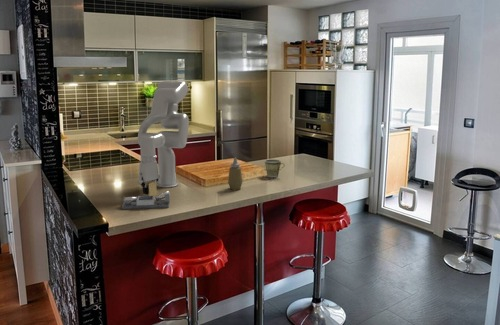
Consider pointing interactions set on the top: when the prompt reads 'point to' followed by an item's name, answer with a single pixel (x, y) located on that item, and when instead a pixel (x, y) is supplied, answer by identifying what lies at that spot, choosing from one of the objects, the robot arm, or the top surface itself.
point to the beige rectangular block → (151, 188)
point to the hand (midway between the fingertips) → (149, 192)
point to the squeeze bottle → (235, 176)
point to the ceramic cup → (273, 167)
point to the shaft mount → (147, 201)
